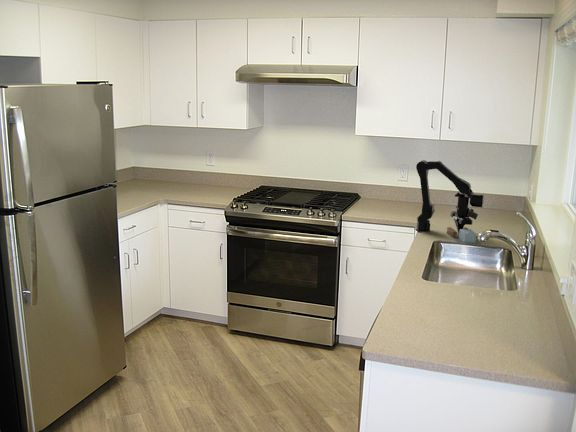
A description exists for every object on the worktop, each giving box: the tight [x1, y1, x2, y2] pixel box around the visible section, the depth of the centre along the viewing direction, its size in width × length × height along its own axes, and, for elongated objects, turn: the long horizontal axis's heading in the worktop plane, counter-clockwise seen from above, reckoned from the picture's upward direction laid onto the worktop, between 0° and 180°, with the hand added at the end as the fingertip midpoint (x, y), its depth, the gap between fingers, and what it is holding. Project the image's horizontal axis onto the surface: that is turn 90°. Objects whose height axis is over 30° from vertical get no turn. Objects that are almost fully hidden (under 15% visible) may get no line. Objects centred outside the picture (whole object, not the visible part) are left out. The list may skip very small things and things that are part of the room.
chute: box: [446, 226, 469, 238], centre depth 326 cm, size 12×10×3 cm
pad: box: [451, 237, 482, 245], centre depth 316 cm, size 12×12×1 cm
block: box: [459, 228, 477, 243], centre depth 316 cm, size 6×8×5 cm
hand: (459, 233), depth 326 cm, fingers closed
